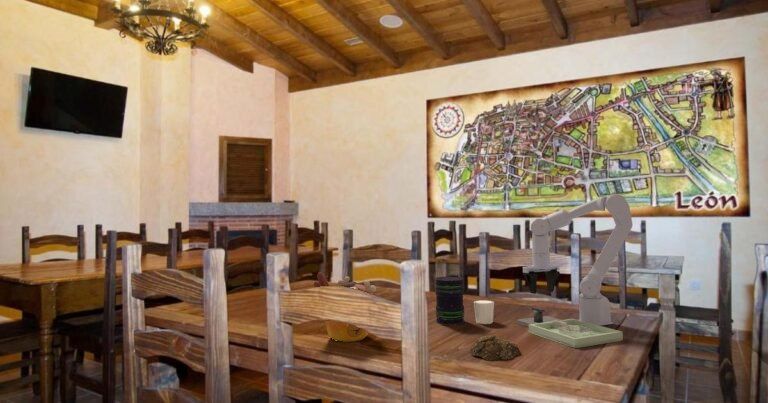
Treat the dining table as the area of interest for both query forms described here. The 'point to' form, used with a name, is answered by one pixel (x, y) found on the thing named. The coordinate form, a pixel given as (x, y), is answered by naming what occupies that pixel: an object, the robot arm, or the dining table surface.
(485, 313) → the shot glass
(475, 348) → the brown lumpy mound
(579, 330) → the ring
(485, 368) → the dining table surface
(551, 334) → the tray
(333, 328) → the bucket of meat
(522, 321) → the base
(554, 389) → the dining table surface
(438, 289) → the storage jar
